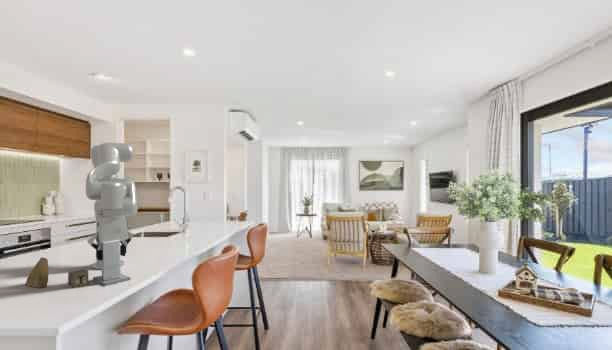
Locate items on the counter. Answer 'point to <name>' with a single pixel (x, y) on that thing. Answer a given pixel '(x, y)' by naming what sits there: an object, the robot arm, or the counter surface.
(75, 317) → the counter surface
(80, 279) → the walnut letter cube
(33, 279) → the rock
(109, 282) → the slate mat
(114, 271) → the skincare box
